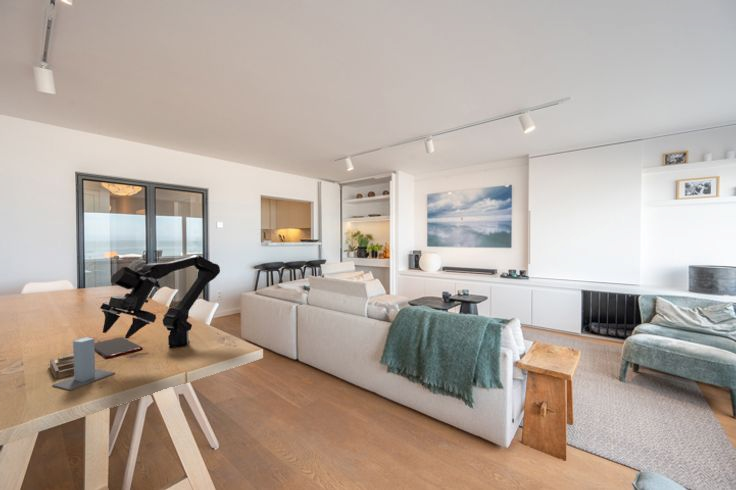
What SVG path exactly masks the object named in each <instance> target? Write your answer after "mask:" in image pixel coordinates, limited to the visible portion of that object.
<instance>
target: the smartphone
mask: <svg viewBox="0 0 736 490" xmlns="http://www.w3.org/2000/svg"><path fill="white" fill-rule="evenodd" d="M142 350H144V347H142V346H140V345H139V344H137V343H135V342H133V341H130V340H129V339H126V338H125V337H122V336H121V337H115V338H110V339H106V340H101V341H96V342H94V351H95V352H96V353H97V354H98V355H100V356H101V357H103V358H104V359H112V358H116V357H120V356H123V355H124V356H125V355H128V354H132V353H136V352H140V351H142Z"/></svg>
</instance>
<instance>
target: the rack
mask: <svg viewBox="0 0 736 490" xmlns="http://www.w3.org/2000/svg"><path fill="white" fill-rule="evenodd" d="M55 360H58V358H56V359H53V358H52V359H50V361H49V363H50V364H49V367H50V369H51V371H52V373H53V376H54V378H55V379H56V380H57V379H61V378H65V377H69V376H72V375H73V376H74V362H73V363H68V364H64V365H60V366H57V365H56V363H55Z"/></svg>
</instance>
